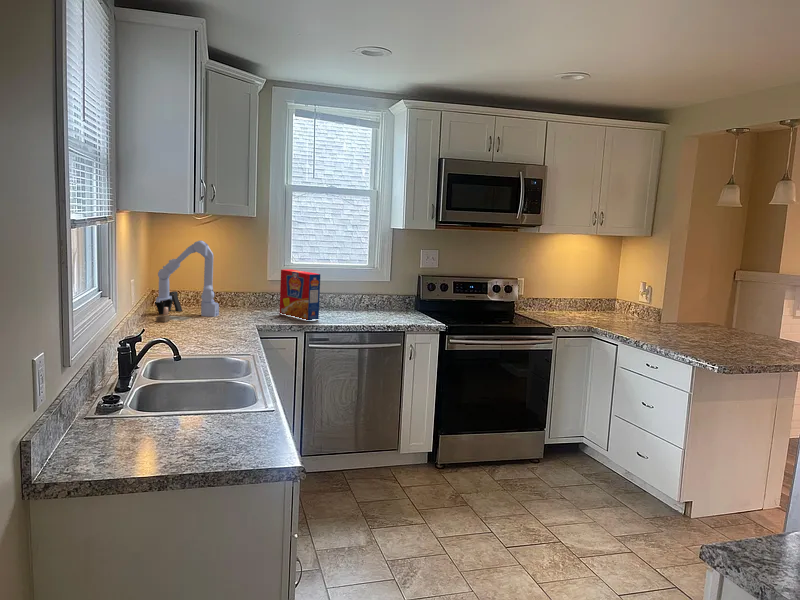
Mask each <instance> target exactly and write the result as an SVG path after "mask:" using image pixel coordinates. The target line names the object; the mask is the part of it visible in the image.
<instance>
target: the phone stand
mask: <svg viewBox="0 0 800 600" xmlns="http://www.w3.org/2000/svg"><path fill="white" fill-rule="evenodd" d="M169 296H172V299H170V300H173V302H172V304H171V306H170V310H169V312H178V313H182V312H183V308H182V305H181V302H180V299H179V297H178V291H171V292H169ZM172 306H174V309H175V310H173V309H172ZM181 311H182V312H181Z"/></svg>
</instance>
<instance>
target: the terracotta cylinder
mask: <svg viewBox="0 0 800 600" xmlns="http://www.w3.org/2000/svg"><path fill="white" fill-rule="evenodd" d="M160 315H164V316H166V315H169V313H168V307H164V311H163V314H159V316H160Z"/></svg>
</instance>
